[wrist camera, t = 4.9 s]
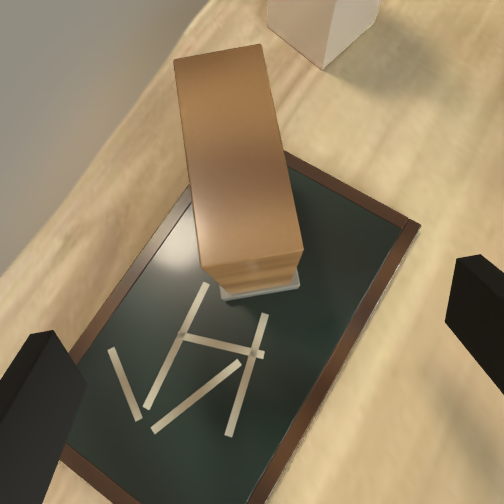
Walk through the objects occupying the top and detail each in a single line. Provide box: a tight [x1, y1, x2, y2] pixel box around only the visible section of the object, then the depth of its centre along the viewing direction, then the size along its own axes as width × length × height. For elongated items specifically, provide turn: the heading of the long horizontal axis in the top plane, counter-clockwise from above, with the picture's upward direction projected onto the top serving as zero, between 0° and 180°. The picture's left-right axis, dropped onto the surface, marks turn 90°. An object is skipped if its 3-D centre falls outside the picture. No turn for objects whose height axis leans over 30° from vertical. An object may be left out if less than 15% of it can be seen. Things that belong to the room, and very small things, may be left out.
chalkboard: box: [60, 150, 421, 504], centre depth 24 cm, size 26×16×1 cm, turn 147°
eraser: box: [173, 44, 304, 301], centre depth 19 cm, size 10×5×11 cm, turn 9°
